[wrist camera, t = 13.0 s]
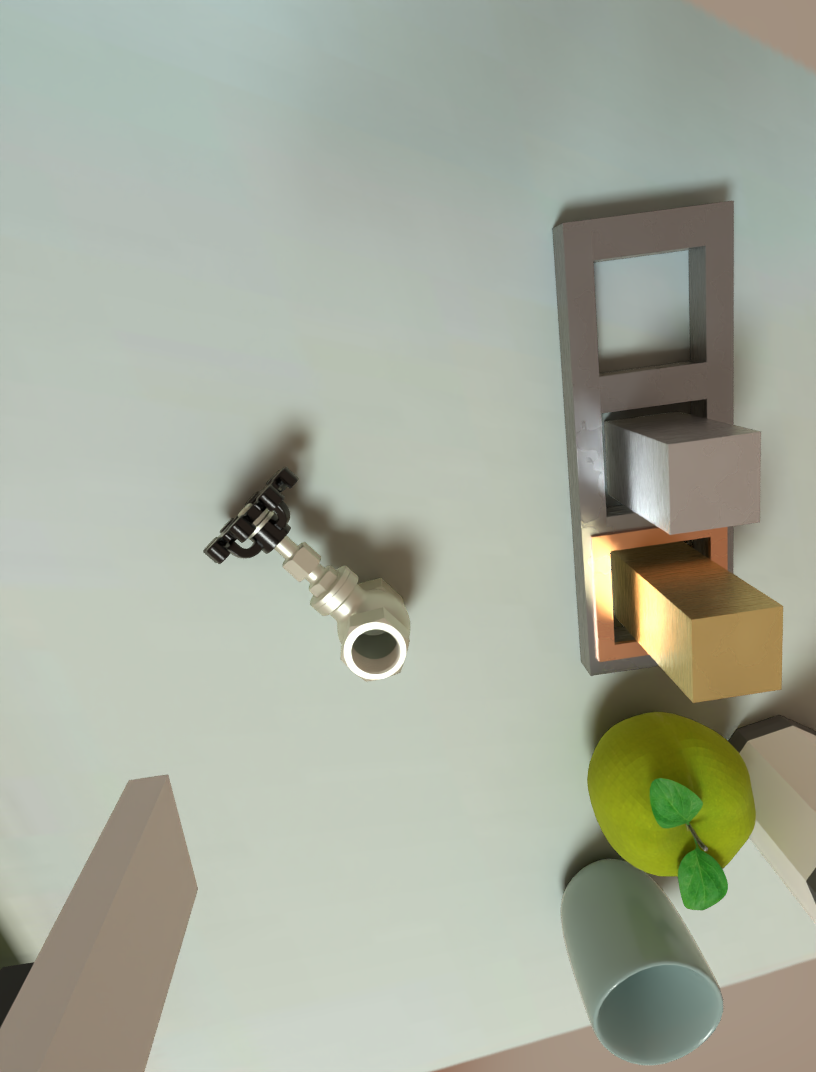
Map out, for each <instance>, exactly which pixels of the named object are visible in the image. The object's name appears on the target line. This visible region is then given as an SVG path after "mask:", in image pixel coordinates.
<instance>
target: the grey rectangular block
mask: <svg viewBox="0 0 816 1072" xmlns="http://www.w3.org/2000/svg"><path fill="white" fill-rule="evenodd" d="M604 432H605V453H606V473H607V493H608V495H610V496H611V497H613V498H614V499H616V500H617V501H619V502H620V503H622V504H623V505H625V506H627V507H628V508H630V509H631V510H633V511H634V512H636V513H637V514H639V515H640V516H642V517H643V518H645V519H647V520H648V521H650V522H651V523H653V524H654V525H656V526H657V527H659V528H660V529H662V530H664V531H665V532H667V533H668V534H670V535H673V534H680V533H687V532H694V531H701V530H708V529H715V528H722V527H729V526H736V525H743V524H750V523H757V522H760V457H761V432H760V431H756V430H752V429H748V428H744V427H740V426H736V425H731V424H727V423H723V422H719V421H715V420H711V419H707V418H703V417H699V416H695V415H691V414H686V413H682V412H678V411H676V412H669V413H662V414H654V415H647V416H640V417H633V418H626V419H618V420H611V421H604Z"/></svg>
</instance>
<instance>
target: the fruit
mask: <svg viewBox="0 0 816 1072" xmlns="http://www.w3.org/2000/svg"><path fill="white" fill-rule="evenodd" d="M587 781H588V791H589V796H590V800H591V804H592V807H593V810H594V813H595V816H596V819H597V821H598V823H599V826H600V828H601V830H602V832H603V834H604V835H605V837H606V839H607V840H608V842H609V843H610V845H611V846H612V847H613V848H614V850H615V851H616V852H617V853H618V854H619V855H620V856H621V857H622V858H623V859H625V860H626V861H627V862H629V863H630V864H631V865H633V866H634V867H636V868H638V869H640V870H642V871H644V872H646V873H649V874H653V875H657V876H678V881H679V887H680V893H681V897H682V900H683V903H684V906H685V907H686V908H687V909H692V910H705V909H707V908H709V907H711V906H712V905H714V904H716V903H717V902H719V901H720V900H721V899H722V898H723V897H724V896H725V895H726V893H727V889H728V883H727V879H726V876H725V874H724V872H723V870H722V869H723V868H724V867H725V866H726V865H727V864H728V863H729V862H730V861H731V860H732V859H733V857H734V856H735V855H736V854H737V852H738V851H739V850H740V848H741V847H742V846H743V845H744V843H745V842H746V841H747V840H748V838H749V837H750V835H751V833H752V831H753V829H754V826H755V821H756V810H755V803H754V797H753V792H752V788H751V781H750V775H749V772H748V769H747V766H746V764H745V762H744V760H743V758H742V757H741V755H740V754H739V752H738V751H737V750H736V749H735V748H734V747H733V746H732V745H731V744H730V743H729V742H728V741H727V740H726V739H725V738H723V737H722V736H721V735H719V734H718V733H717V732H715V731H713V730H712V729H710V728H708V727H706V726H704V725H702V724H700V723H698V722H696V721H693V720H691V719H688V718H685V717H682V716H679V715H675V714H671V713H666V712H649V713H644V714H640V715H637V716H634V717H631V718H628V719H625V720H623V721H621V722H619V723H617V724H615V725H614V726H613V727H611V728H610V729H609V730H608V731H607V732H606V733H605V734H604V735H603V736H602V738H601V739H600V741H599V743H598V744H597V746H596V748H595V750H594V753H593V755H592V758H591V761H590V764H589V769H588V778H587Z"/></svg>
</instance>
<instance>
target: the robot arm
mask: <svg viewBox="0 0 816 1072" xmlns="http://www.w3.org/2000/svg"><path fill="white" fill-rule="evenodd" d="M197 890H198V887H197V883H196V880H195V876H194V872H193V868H192V864H191V860H190V857H189V853H188V849H187V845H186V841H185V837H184V834H183V830H182V826H181V822H180V818H179V814H178V811H177V807H176V803H175V799H174V795H173V791H172V788H171V784H170V780H169V776H168V775H161V776H154V777H148V778H141V779H134V780H129V781H128V783H127V785H126V787H125V789H124V791H123V793H122V795H121V797H120V799H119V800H118V802H117V804H116V806H115V808H114V810H113V812H112V814H111V816H110V818H109V820H108V822H107V824H106V825H105V827H104V829H103V831H102V833H101V835H100V837H99V839H98V841H97V843H96V845H95V847H94V849H93V851H92V852H91V854H90V856H89V858H88V860H87V862H86V864H85V866H84V868H83V870H82V872H81V874H80V876H79V877H78V879H77V881H76V883H75V885H74V887H73V889H72V891H71V893H70V895H69V897H68V899H67V901H66V903H65V904H64V906H63V908H62V910H61V912H60V914H59V916H58V918H57V920H56V922H55V924H54V926H53V928H52V930H51V931H50V933H49V935H48V937H47V939H46V941H45V943H44V945H43V947H42V949H41V951H40V953H39V955H38V956H37V958H36V960H35V962H33V963H27V964H21V965H14V966H8V967H3V968H2V969H1V970H0V1072H144V1071H145V1068H146V1064H147V1061H148V1057H149V1054H150V1051H151V1047H152V1044H153V1040H154V1037H155V1033H156V1030H157V1027H158V1023H159V1020H160V1016H161V1013H162V1010H163V1006H164V1003H165V999H166V996H167V993H168V989H169V986H170V982H171V979H172V976H173V972H174V969H175V965H176V962H177V958H178V955H179V952H180V948H181V945H182V941H183V938H184V935H185V931H186V928H187V924H188V921H189V918H190V914H191V911H192V907H193V904H194V900H195V897H196V894H197Z"/></svg>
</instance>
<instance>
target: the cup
mask: <svg viewBox="0 0 816 1072" xmlns="http://www.w3.org/2000/svg"><path fill="white" fill-rule="evenodd" d="M561 923H562V931H563V937H564V942H565V946H566V950H567V953H568V957H569V961H570V964H571V967H572V971H573V974H574V977H575V980H576V983H577V986H578V989H579V992H580V995H581V998H582V1001H583V1004H584V1007H585V1010H586V1012H587V1015H588V1018H589V1020H590V1023H591V1026H592V1028H593V1031H594V1033H595V1034H596V1036H597V1038H598V1039H599V1041H600V1042H601V1044H602V1045H603V1046H604V1047H605V1048H607V1050H609V1051H610V1052H611V1053H612V1054H614V1055H615V1056H617V1057H619V1058H621V1059H623V1060H625V1061H628V1062H630V1063H635V1064H639V1065H658V1064H664V1063H668V1062H671V1061H674V1060H677V1059H679V1058H681V1057H683V1056H685V1055H687V1054H689V1053H690V1052H692V1051H693V1050H694V1049H696V1048H698V1047H699V1046H700V1045H701V1044H702V1043H703V1042H705V1041H706V1040H707V1039H708V1038H709V1037H710V1035H711V1034H712V1033H713V1032H714V1031H715V1029H716V1027H717V1025H718V1024H719V1022H720V1019H721V1016H722V1013H723V997H722V994H721V991H720V987H719V985H718V983H717V980H716V978H715V976H714V974H713V973H712V971H711V969H710V967H709V965H708V963H707V961H706V960H705V958H704V956H703V954H702V952H701V951H700V949H699V947H698V945H697V943H696V942H695V940H694V938H693V936H692V935H691V933H690V931H689V929H688V928H687V926H686V924H685V923H684V921H683V919H682V918H681V916H680V914H679V913H678V911H677V910H676V908H675V906H674V905H673V903H672V902H671V901H670V899H669V898H668V896H667V895H666V894H665V892H664V891H663V890H662V888H661V887H660V886H659V885H658V884H657V883H656V882H655V881H654V880H653V879H652V878H651V877H650V876H649V875H648V874H647V873H646V872H644V871H642V870H640V869H638V868H636V867H634V866H633V865H631V864H630V863H629V862H627V861H624V860H620V859H602V860H598V861H596V862H593V863H591V864H589V865H587V866H585V867H584V868H583V869H581V870H580V871H579V872H578V873H577V874H576V875H575V876H574V877H573V878H572V879H571V881H570V882H569V883H568V885H567V887H566V889H565V891H564V894H563V897H562V902H561Z"/></svg>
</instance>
